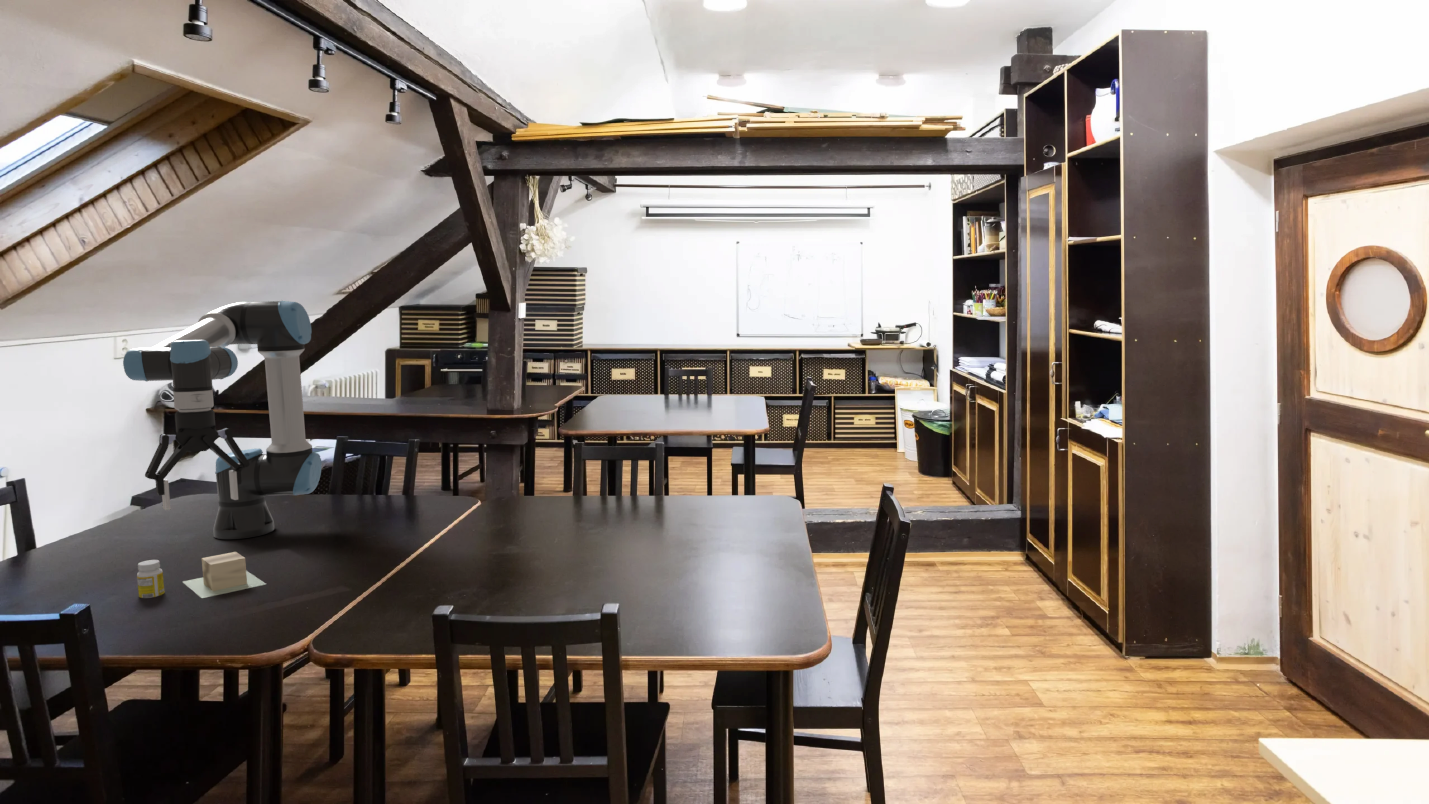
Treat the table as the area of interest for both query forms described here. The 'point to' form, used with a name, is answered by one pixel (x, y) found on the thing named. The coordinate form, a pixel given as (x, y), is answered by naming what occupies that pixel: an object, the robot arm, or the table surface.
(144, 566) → the supplement bottle
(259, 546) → the table surface
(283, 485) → the robot arm
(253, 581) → the board
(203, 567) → the beech block
